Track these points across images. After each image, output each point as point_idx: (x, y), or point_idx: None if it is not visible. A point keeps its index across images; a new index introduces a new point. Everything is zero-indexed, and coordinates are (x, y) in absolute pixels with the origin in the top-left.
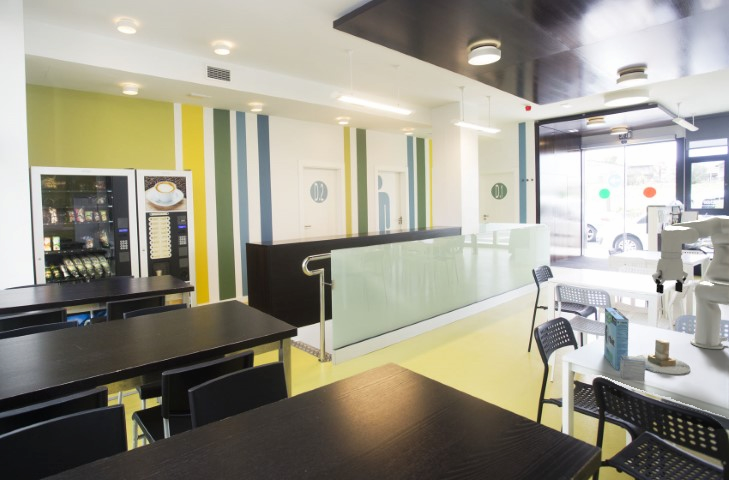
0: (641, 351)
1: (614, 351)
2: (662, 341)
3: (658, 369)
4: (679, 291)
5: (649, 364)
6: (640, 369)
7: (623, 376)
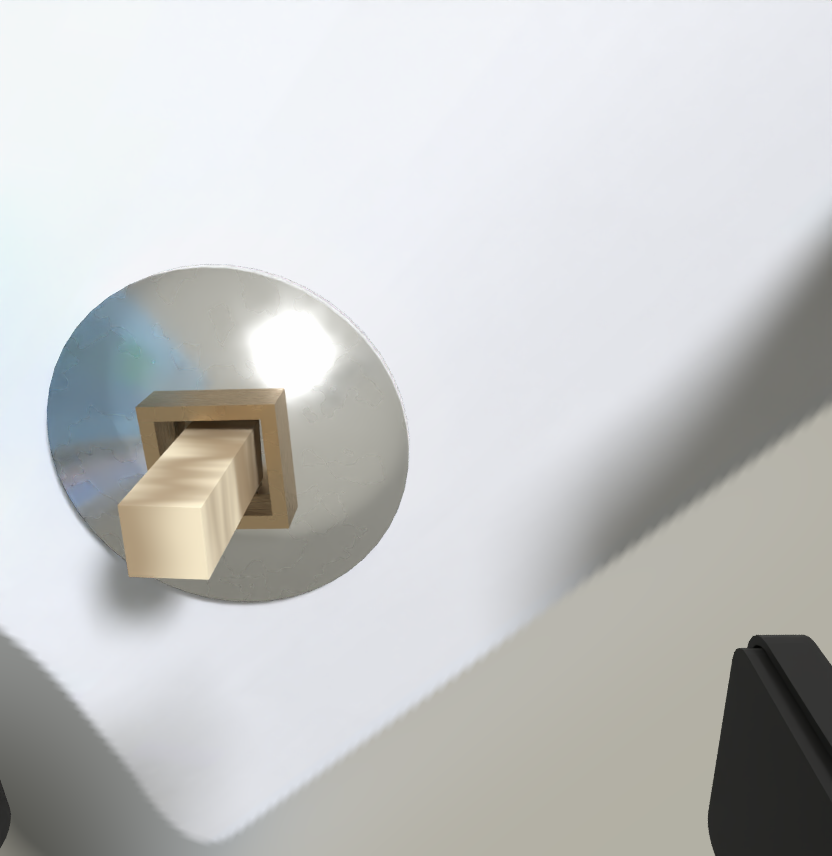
0: (278, 134)
1: None
2: (157, 551)
3: None
4: (716, 806)
5: (119, 457)
6: None
7: None
